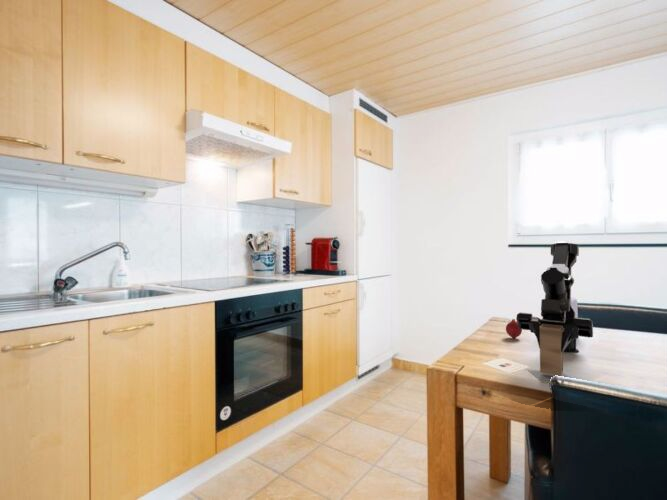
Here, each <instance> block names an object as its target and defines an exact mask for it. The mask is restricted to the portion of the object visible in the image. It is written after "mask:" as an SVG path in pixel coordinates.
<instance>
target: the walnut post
mask: <svg viewBox="0 0 667 500" xmlns="http://www.w3.org/2000/svg"><path fill="white" fill-rule="evenodd" d="M562 339H563V326H560V325H551V324H542V325H541V326H540V348H539V368H540V369H539V371H540V372H542V373H547V374H552V375H558V376H561V375H562V373H564V352H561V344H562Z"/></svg>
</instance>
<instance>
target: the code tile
mask: <svg viewBox="0 0 667 500" xmlns="http://www.w3.org/2000/svg"><path fill="white" fill-rule="evenodd" d="M480 364H482V365H485V366H487V367H490V368H493V369H495V370H499V371H501V372H504V373H508V374H512V373H516V372H518V371H519V372H520V371H521V370H525V369H529V368H530V366H529V365H526V364H522V363H519V362H516V361H512V360H510V359H506V358H503V357H501V358H496V359H492V360H489V361H485V362H481V363H480Z"/></svg>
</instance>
